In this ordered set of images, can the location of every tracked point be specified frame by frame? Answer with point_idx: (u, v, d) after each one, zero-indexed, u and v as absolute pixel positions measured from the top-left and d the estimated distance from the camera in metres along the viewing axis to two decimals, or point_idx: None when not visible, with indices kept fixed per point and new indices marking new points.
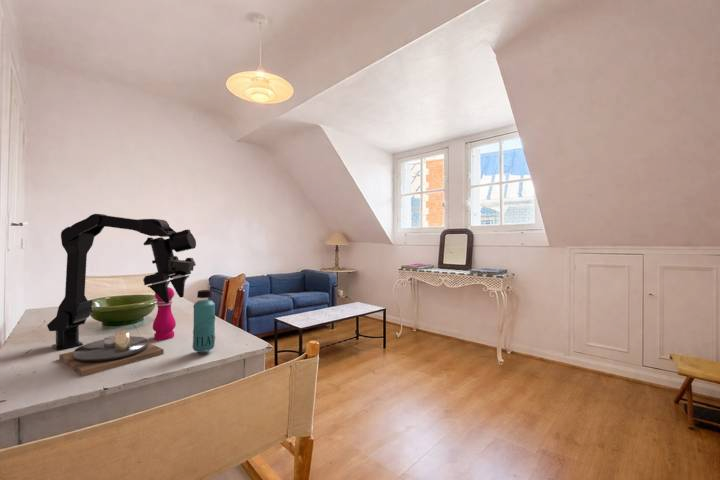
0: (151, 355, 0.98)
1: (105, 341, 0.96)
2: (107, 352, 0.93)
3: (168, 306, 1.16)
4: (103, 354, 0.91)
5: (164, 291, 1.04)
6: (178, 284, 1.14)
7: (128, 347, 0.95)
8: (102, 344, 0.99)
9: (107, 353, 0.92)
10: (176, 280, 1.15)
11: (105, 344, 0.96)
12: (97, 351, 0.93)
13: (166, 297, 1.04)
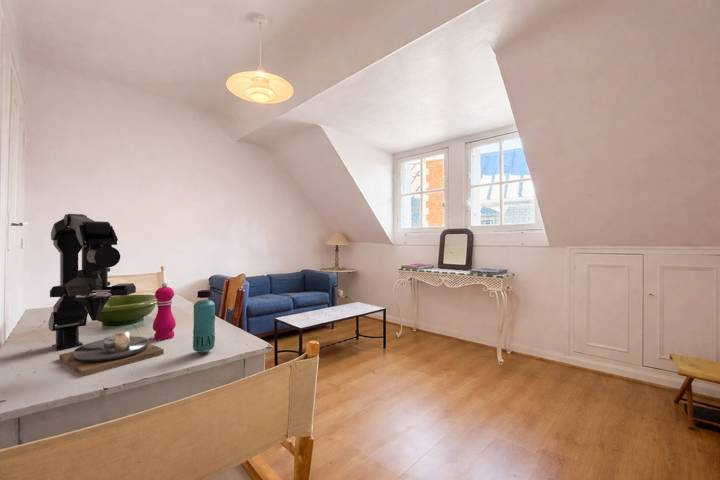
0: (151, 355, 0.98)
1: (105, 341, 0.96)
2: (107, 352, 0.93)
3: (168, 306, 1.16)
4: (103, 354, 0.91)
5: None
6: None
7: (128, 347, 0.95)
8: (102, 344, 0.99)
9: (107, 353, 0.92)
10: None
11: (105, 344, 0.96)
12: (97, 351, 0.93)
13: None
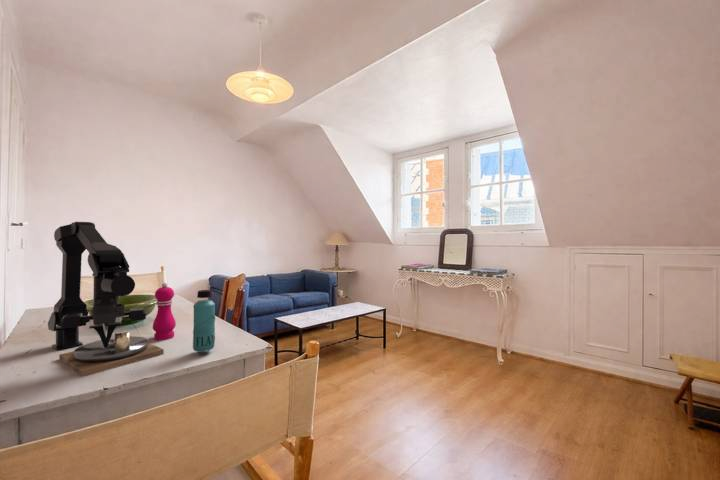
0: (151, 355, 0.98)
1: None
2: (107, 352, 0.93)
3: (168, 306, 1.16)
4: (103, 354, 0.91)
5: None
6: None
7: (128, 347, 0.95)
8: (102, 344, 0.99)
9: (107, 353, 0.92)
10: None
11: None
12: (97, 351, 0.93)
13: (102, 341, 0.91)
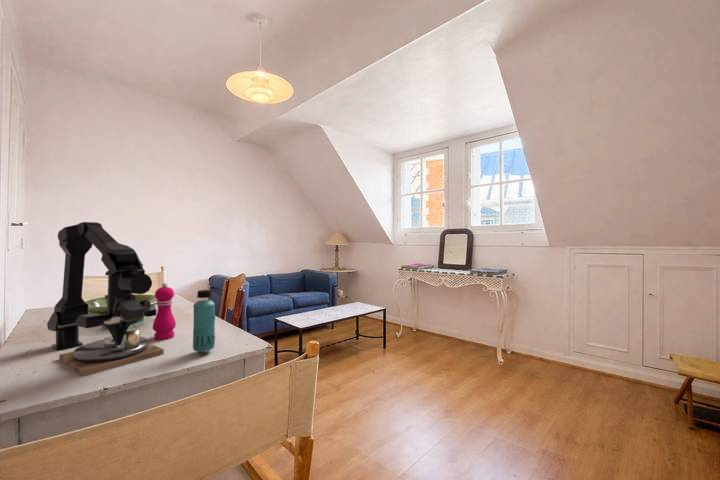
0: (151, 355, 0.98)
1: (108, 341, 0.96)
2: (118, 350, 0.94)
3: (168, 306, 1.16)
4: (118, 352, 0.93)
5: (115, 333, 0.92)
6: None
7: (139, 343, 0.98)
8: (98, 346, 0.98)
9: (119, 351, 0.94)
10: None
11: (108, 344, 0.96)
12: (104, 351, 0.94)
13: (117, 339, 0.93)
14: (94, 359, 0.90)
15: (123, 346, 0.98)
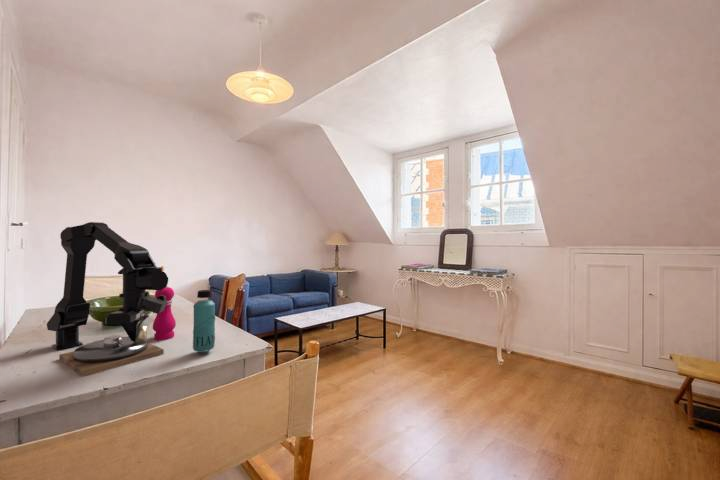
0: (151, 355, 0.98)
1: (113, 341, 0.97)
2: (131, 346, 0.98)
3: (168, 306, 1.16)
4: (136, 347, 0.97)
5: (134, 329, 0.96)
6: None
7: None
8: (96, 348, 0.96)
9: (134, 346, 0.98)
10: None
11: (113, 344, 0.97)
12: (117, 349, 0.95)
13: (134, 335, 0.97)
14: (117, 356, 0.92)
15: (127, 344, 1.00)
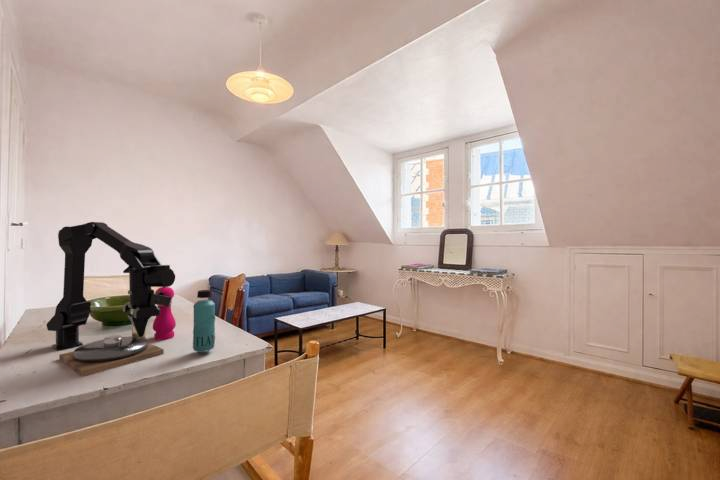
0: (151, 355, 0.98)
1: (118, 340, 0.98)
2: (138, 342, 1.01)
3: None
4: (145, 342, 1.02)
5: (144, 324, 1.01)
6: None
7: None
8: (100, 350, 0.95)
9: (141, 342, 1.02)
10: None
11: (118, 342, 0.98)
12: (128, 346, 0.98)
13: (143, 330, 1.02)
14: (137, 350, 0.97)
15: (127, 342, 1.02)
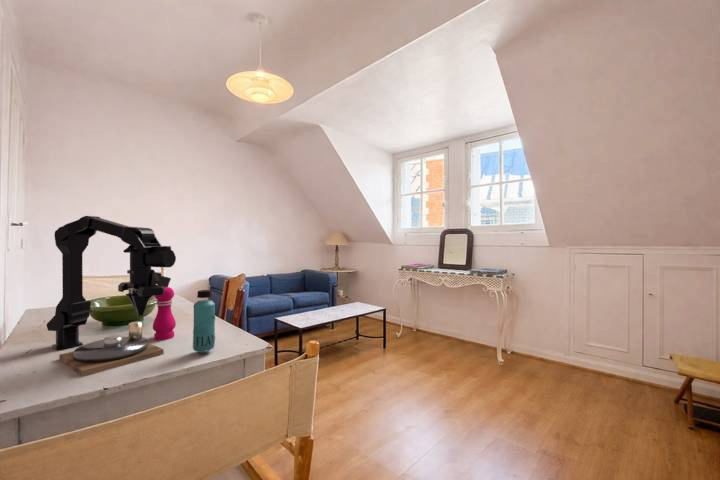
0: (151, 355, 0.98)
1: (119, 339, 0.98)
2: (138, 341, 1.03)
3: (168, 306, 1.16)
4: (145, 340, 1.04)
5: (145, 303, 1.03)
6: None
7: None
8: (103, 350, 0.94)
9: (141, 340, 1.03)
10: (137, 295, 1.03)
11: (119, 342, 0.98)
12: (131, 344, 0.99)
13: (143, 309, 1.03)
14: (143, 348, 0.99)
15: (125, 341, 1.02)
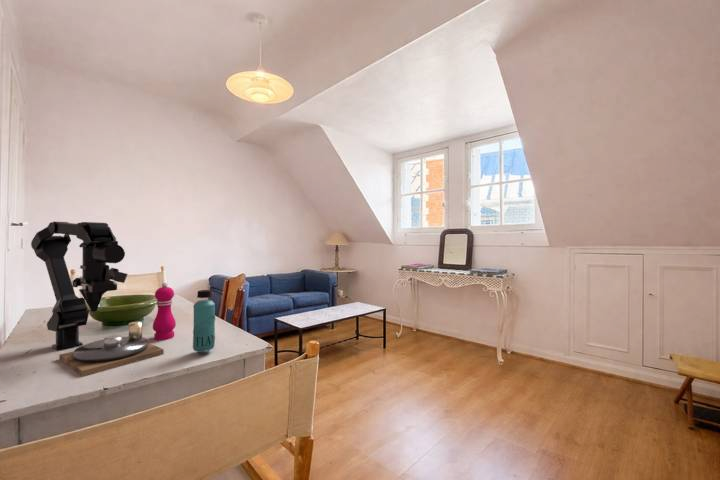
0: (151, 355, 0.98)
1: (119, 339, 0.98)
2: (138, 341, 1.03)
3: (168, 306, 1.16)
4: (145, 340, 1.04)
5: (98, 299, 1.01)
6: None
7: None
8: (103, 350, 0.94)
9: (141, 340, 1.03)
10: None
11: (119, 342, 0.98)
12: (131, 344, 0.99)
13: (97, 305, 1.02)
14: (143, 348, 0.99)
15: (125, 341, 1.02)
